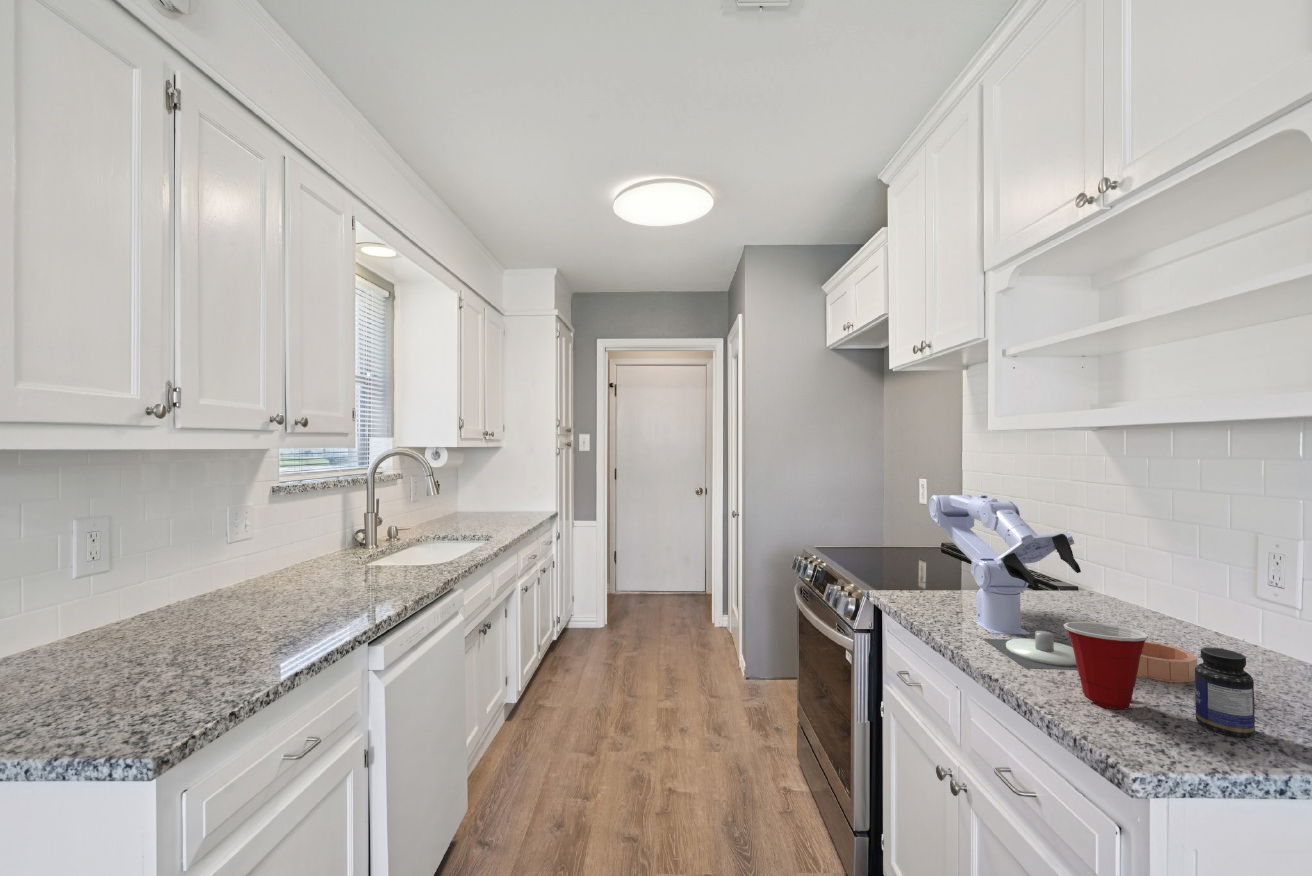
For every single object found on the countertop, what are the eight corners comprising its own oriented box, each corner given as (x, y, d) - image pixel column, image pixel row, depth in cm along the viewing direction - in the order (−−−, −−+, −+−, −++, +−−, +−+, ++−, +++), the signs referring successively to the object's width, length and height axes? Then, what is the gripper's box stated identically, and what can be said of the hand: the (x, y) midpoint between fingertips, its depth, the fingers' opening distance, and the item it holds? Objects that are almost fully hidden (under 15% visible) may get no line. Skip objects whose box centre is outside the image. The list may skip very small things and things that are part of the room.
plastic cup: (1127, 691, 95) (1125, 619, 95) (1166, 721, 84) (1164, 641, 85) (1053, 684, 98) (1052, 615, 98) (1082, 712, 87) (1080, 634, 87)
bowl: (1101, 660, 108) (1100, 639, 108) (1162, 661, 107) (1161, 640, 107) (1145, 683, 97) (1145, 660, 98) (1213, 685, 96) (1213, 662, 97)
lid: (993, 641, 118) (992, 622, 118) (1058, 643, 117) (1058, 623, 117) (1029, 665, 105) (1028, 643, 105) (1102, 667, 104) (1102, 645, 104)
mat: (982, 641, 119) (982, 638, 119) (1061, 643, 118) (1061, 640, 118) (1025, 670, 103) (1025, 668, 103) (1117, 673, 102) (1117, 670, 102)
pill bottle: (1198, 714, 86) (1196, 642, 87) (1256, 729, 82) (1254, 653, 82) (1193, 727, 82) (1191, 652, 82) (1254, 743, 78) (1252, 663, 78)
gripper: (979, 536, 120) (1011, 575, 107) (1049, 508, 116) (1091, 545, 104) (990, 560, 122) (1022, 601, 110) (1059, 534, 118) (1101, 573, 106)
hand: (1056, 576), depth 107 cm, fingers open, 7 cm apart
